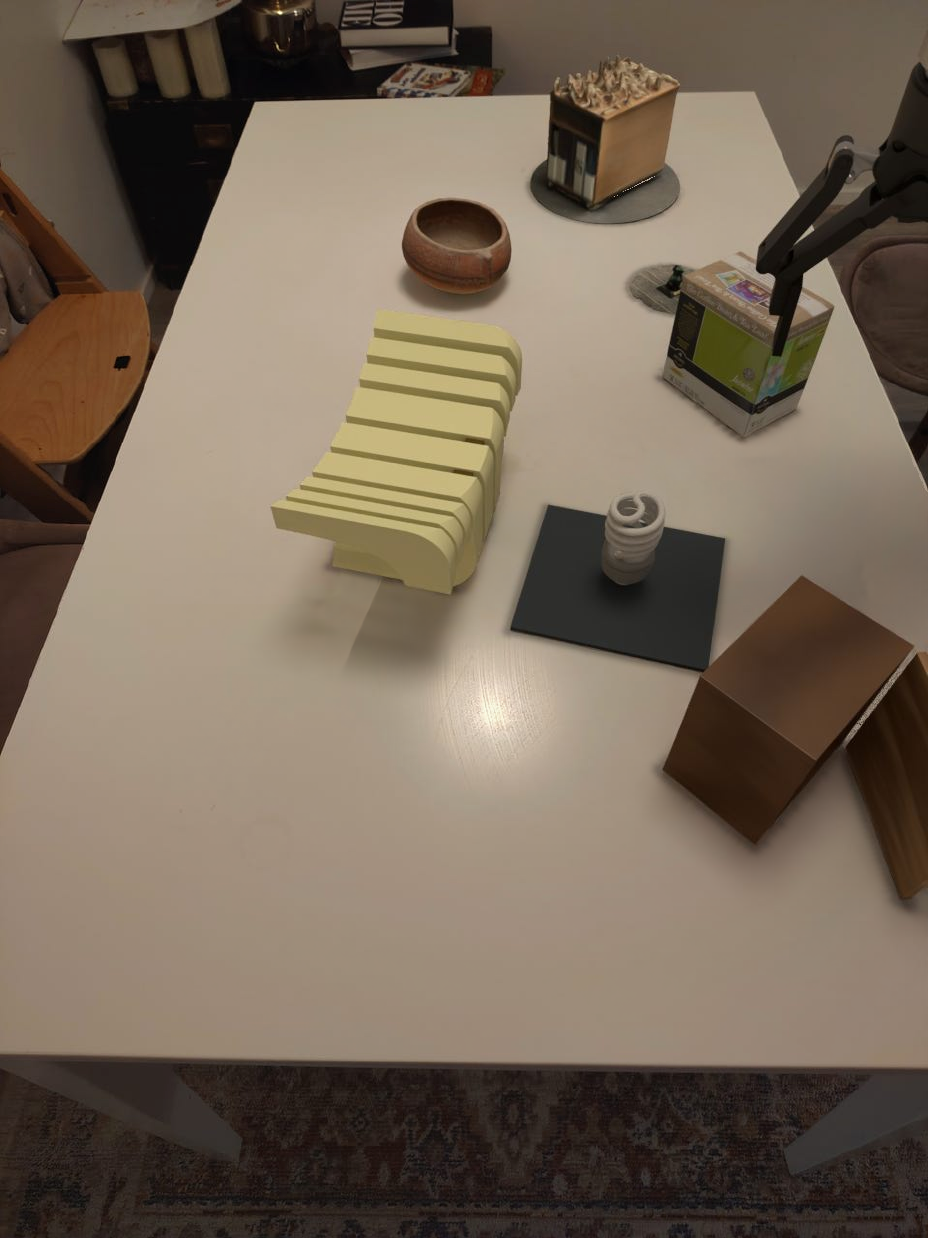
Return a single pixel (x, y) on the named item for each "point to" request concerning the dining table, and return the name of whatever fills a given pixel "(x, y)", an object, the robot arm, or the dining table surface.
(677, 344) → the tea box
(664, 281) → the sculpture
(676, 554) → the mat
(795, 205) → the robot arm
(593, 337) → the dining table surface
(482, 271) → the bowl
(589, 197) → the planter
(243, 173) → the dining table surface
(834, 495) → the dining table surface
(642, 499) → the light bulb
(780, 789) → the cupboard
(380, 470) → the slatted curved stool
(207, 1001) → the dining table surface
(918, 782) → the cupboard door
